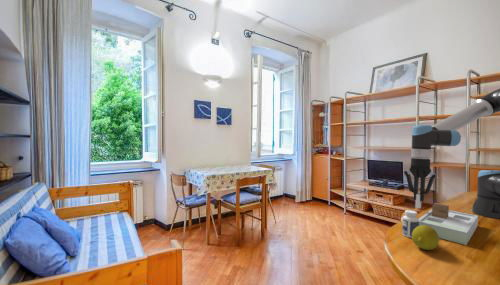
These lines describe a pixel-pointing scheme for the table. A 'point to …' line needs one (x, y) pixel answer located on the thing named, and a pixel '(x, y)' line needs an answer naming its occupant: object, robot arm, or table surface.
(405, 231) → the pill bottle
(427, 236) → the lemon
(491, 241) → the table surface
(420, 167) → the robot arm
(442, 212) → the walnut block
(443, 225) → the board
